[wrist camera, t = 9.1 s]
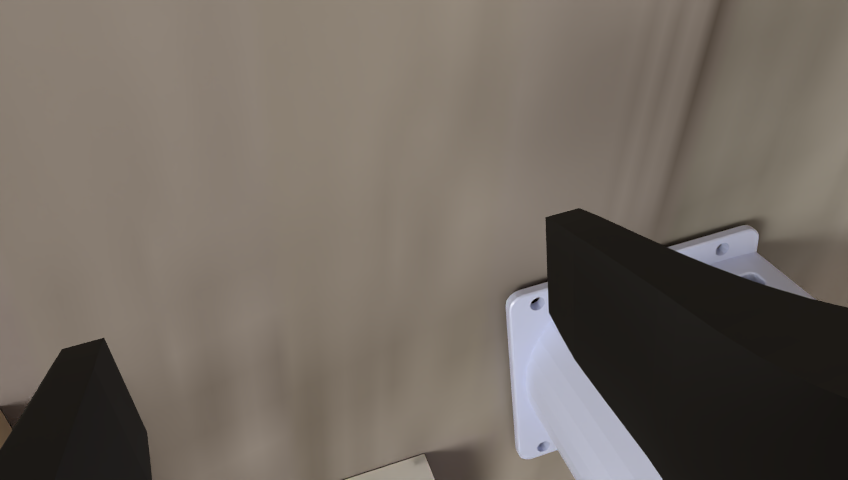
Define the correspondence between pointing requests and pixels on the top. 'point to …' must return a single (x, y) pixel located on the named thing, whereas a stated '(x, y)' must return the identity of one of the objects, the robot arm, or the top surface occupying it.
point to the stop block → (4, 429)
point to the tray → (400, 471)
